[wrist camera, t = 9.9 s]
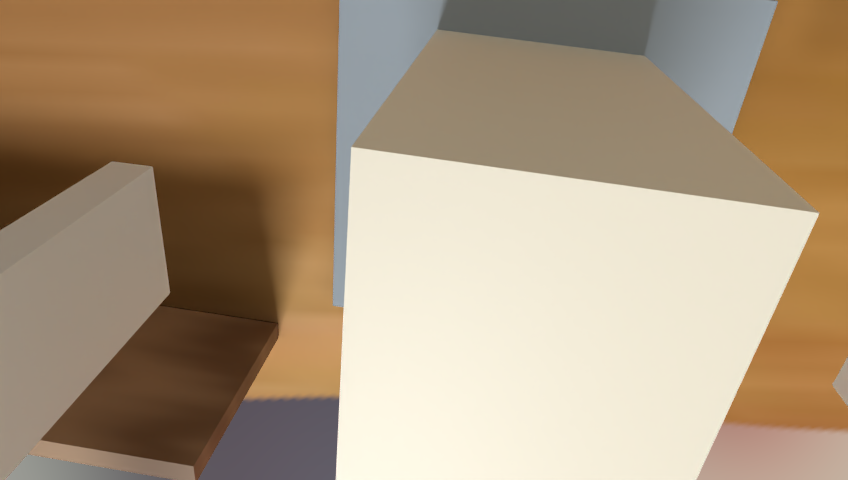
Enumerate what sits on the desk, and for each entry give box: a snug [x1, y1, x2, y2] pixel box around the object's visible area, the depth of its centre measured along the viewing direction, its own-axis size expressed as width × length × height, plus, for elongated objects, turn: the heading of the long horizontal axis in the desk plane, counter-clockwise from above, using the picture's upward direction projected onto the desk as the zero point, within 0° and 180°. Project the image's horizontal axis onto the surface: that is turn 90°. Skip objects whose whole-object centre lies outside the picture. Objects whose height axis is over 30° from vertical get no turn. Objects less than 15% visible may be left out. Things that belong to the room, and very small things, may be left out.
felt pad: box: [333, 0, 778, 307], centre depth 16 cm, size 10×10×1 cm
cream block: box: [336, 29, 819, 480], centre depth 12 cm, size 5×7×9 cm
